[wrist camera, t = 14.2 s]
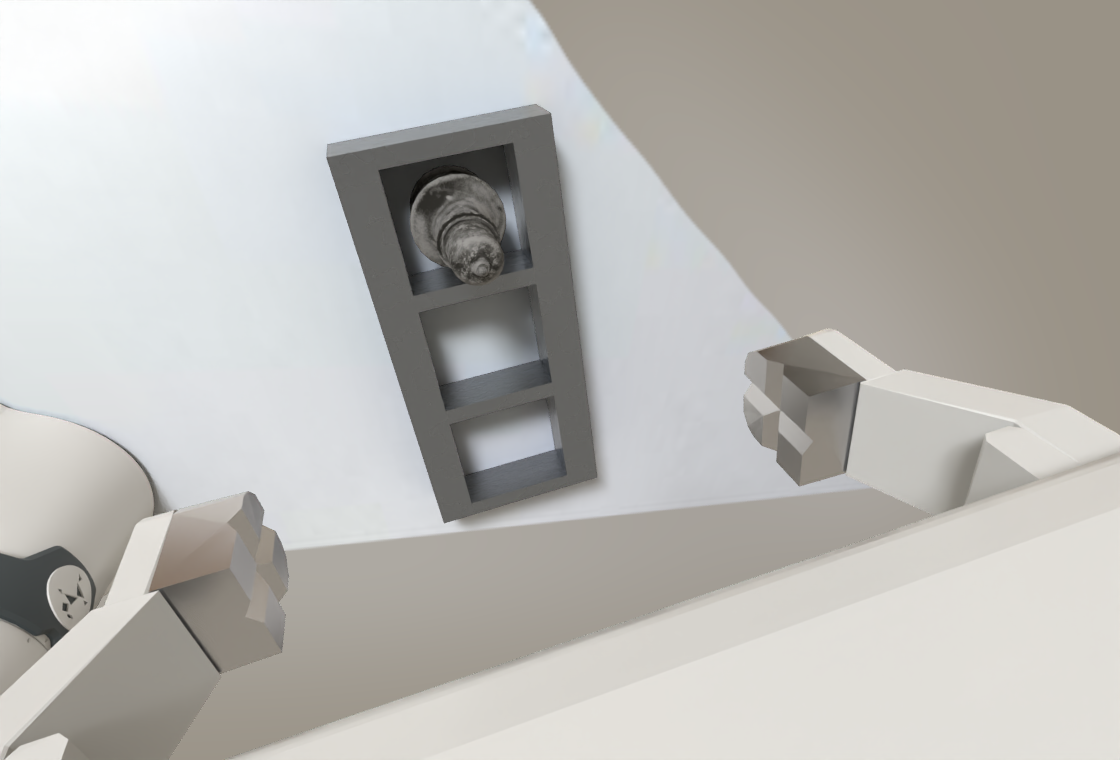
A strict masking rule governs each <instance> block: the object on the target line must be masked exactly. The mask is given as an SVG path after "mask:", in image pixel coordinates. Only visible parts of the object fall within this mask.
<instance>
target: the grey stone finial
mask: <svg viewBox="0 0 1120 760" xmlns="http://www.w3.org/2000/svg"><path fill="white" fill-rule="evenodd" d="M410 212H411V214H410V228H411V233H412V236H413V238H414V241H415V243H416V245H417V246H418V248H419V249H420V251H421V252H422V253H423V254H424V255H425V256H426V257H428V258H429V259H430V260H431V261H433V262H435V263H437V264H439V265H441V266H445V267H450V268H451V269H452V270H453V272H454V273H455V275H456V276H457V277H458V278H459V279H460V280H461V281H463V282H465V283H467V284H469V285H474V286H482V285H486V284H489V283H491V282H492V281H494V280H495V279H496V278H497V277H498V276H499V275H500V273H501V271H502V269H503V266H504V254H503V250H502V248H501V247H500V246H501V240H502V238H503V235H504V231H505V228H506V215H505V211H504V207H503V203H502V201H501V200H500V198H499V196H498V194H497V193H496V192H495V191H494V190H493V189H492V188H491V186H490V185H489V184H488V183H486V182H484V181H482V180H481V179H479V178H478V177H477V176H476V175H475V174H474V173H472V172H471V171H469V170H467V169H466V168H462V167H458V166H441V167H438V168H434V169H432V170H431V171H429V172H427V173H426V174H424V175H423V176H422V177H421V179H420V180H419V181H418V182H417V183H416V185H415V187H414V189H413V191H412V195H411V199H410Z"/></svg>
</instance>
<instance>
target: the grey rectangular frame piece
mask: <svg viewBox="0 0 1120 760" xmlns="http://www.w3.org/2000/svg"><path fill="white" fill-rule="evenodd" d="M499 145H504V151H505V157H506V163H507V169H508V175H509V181H510V187H511V192H512V198H513V204H514V210H515V216H516V222H517V228H518V234H519V239H520V245H521V250H517V251H513V252H509V253H504V266H503V269H502V271H501V273H500V275H499V276H498V277H497V278H496V279H495V280H494V281H492V282H491V283H489V284H486V285H482V286H474V285H469V284H467V283H465V282H463V281H461V280H460V279H459V278H458V277H457V276H456V275H455V273H454V272H453V270H452V269H451V268H450V267H444V268H440V269H436V270H431V271H427V272H423V273H418V274H414V275H410V276H408V272H407V269H406V265H405V262H404V258H403V254H402V251H401V247H400V244H399V240H398V237H397V233H396V230H395V226H394V222H393V219H392V215H391V212H390V208H389V205H388V201H387V197H386V194H385V190H384V187H383V183H382V180H381V176H380V172H379V170H381V169H386V168H391V167H395V166H400V165H405V164H410V163H415V162H420V161H425V160H430V159H435V158H440V157H445V156H450V155H455V154H460V153H464V152H469V151H474V150H479V149H484V148H489V147H494V146H499ZM326 158H327V161H328V164H329V167H330V170H331V173H332V176H333V179H334V182H335V186H336V189H337V192H338V195H339V198H340V201H341V204H342V207H343V210H344V214H345V217H346V220H347V223H348V226H349V229H350V232H351V235H352V238H353V241H354V245H355V248H356V251H357V254H358V257H359V260H360V263H361V266H362V269H363V273H364V276H365V279H366V282H367V285H368V288H369V291H370V294H371V297H372V301H373V304H374V307H375V310H376V313H377V316H378V319H379V322H380V325H381V329H382V332H383V335H384V338H385V341H386V344H387V347H388V350H389V353H390V357H391V360H392V363H393V366H394V369H395V372H396V375H397V378H398V381H399V385H400V388H401V391H402V394H403V397H404V400H405V403H406V406H407V409H408V413H409V416H410V419H411V422H412V425H413V428H414V431H415V434H416V437H417V441H418V444H419V447H420V450H421V453H422V456H423V459H424V462H425V465H426V469H427V472H428V475H429V478H430V481H431V484H432V487H433V490H434V493H435V497H436V500H437V503H438V506H439V509H440V512H441V515H442V518H443V521H444V523H447V522H450V521H453V520H457V519H460V518H463V517H467V516H470V515H473V514H477V513H480V512H483V511H487V510H490V509H493V508H497V507H500V506H503V505H507V504H510V503H513V502H517V501H520V500H523V499H527V498H530V497H533V496H537V495H540V494H543V493H547V492H550V491H553V490H557V489H560V488H563V487H567V486H570V485H573V484H577V483H580V482H583V481H587V480H590V479H593V478H597V472H596V464H595V456H594V448H593V440H592V432H591V424H590V416H589V409H588V401H587V393H586V385H585V377H584V369H583V361H582V353H581V345H580V338H579V330H578V322H577V314H576V306H575V298H574V290H573V282H572V275H571V267H570V259H569V251H568V243H567V235H566V227H565V219H564V212H563V204H562V196H561V188H560V180H559V172H558V164H557V156H556V148H555V141H554V133H553V125H552V117H551V113H550V112H548V111H547V110H545V109H543V108H542V107H540V106H538V105H537V104H534V105H529V106H524V107H519V108H513V109H508V110H503V111H498V112H493V113H488V114H482V115H477V116H472V117H467V118H462V119H457V120H451V121H446V122H441V123H436V124H431V125H426V126H420V127H415V128H410V129H405V130H400V131H395V132H389V133H384V134H379V135H374V136H369V137H364V138H358V139H353V140H348V141H343V142H338V143H333V144H327V157H326ZM526 286H527V287H528V292H529V298H530V304H531V310H532V316H533V322H534V328H535V334H536V339H537V345H538V351H539V357H540V360H537V361H533V362H529V363H526V364H522V365H518V366H514V367H511V368H507V369H503V370H499V371H495V372H492V373H488V374H484V375H480V376H476V377H473V378H469V379H465V380H461V381H457V382H454V383H450V384H446V385H442V386H439V383H438V379H437V376H436V372H435V369H434V365H433V362H432V358H431V354H430V351H429V347H428V344H427V340H426V337H425V333H424V329H423V326H422V322H421V319H420V315H419V312H423V311H427V310H431V309H435V308H440V307H444V306H448V305H452V304H456V303H460V302H464V301H468V300H472V299H477V298H481V297H485V296H489V295H493V294H497V293H501V292H505V291H510V290H514V289H518V288H522V287H526ZM544 398H547V404H548V410H549V416H550V422H551V428H552V433H553V439H554V445H555V450H552V451H549V452H546V453H542V454H539V455H535V456H532V457H528V458H525V459H521V460H518V461H514V462H511V463H508V464H504V465H501V466H497V467H494V468H490V469H487V470H483V471H480V472H476V473H473V474H470V475H466V476H464V472H463V469H462V465H461V461H460V458H459V454H458V451H457V447H456V444H455V440H454V436H453V433H452V429H451V426H450V424H453V423H456V422H460V421H463V420H467V419H471V418H474V417H478V416H482V415H485V414H489V413H493V412H496V411H500V410H504V409H507V408H511V407H514V406H518V405H522V404H525V403H529V402H533V401H536V400H540V399H544Z"/></svg>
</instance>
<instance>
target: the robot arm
mask: <svg viewBox="0 0 1120 760" xmlns="http://www.w3.org/2000/svg"><path fill="white" fill-rule="evenodd" d="M744 374H745V375H746V376H747V377H748V378H749V379H750V381H751V382H752V383H751V385H750V386H749V388H748V389H747V391H746V392H745V394H744V414H745V418H746V421H747V425H748V427H749V429H750V431H751V433H752V434H753V436H754V437H755V439H756V440H757V441H758V442H759V443H760V444H761V445H762V446H764V447H767V448H770V449H773V450H776V451H777V460H776V462H777V463H778V464H779V465H780V466H781V467H782V468H783V469H784V470H785V472H786V473H787V474H788V475H789V476H790V477H791V478H792V479H793V480H794V481H795V482H796V483H797V484H798V486H802V485H806V484H809V483H813V482H816V481H820V480H823V479H827V478H830V477H833V476H837V475H840V474H844V473H846V476H848V477H851V478H853V479H855V480H857V481H859V482H861V483H864V484H866V485H868V486H870V487H872V488H875V489H877V490H879V491H881V492H883V493H886V494H888V495H890V496H892V497H894V498H896V499H899V500H901V501H903V502H905V503H907V504H910V505H912V506H914V507H916V508H918V509H921V510H923V511H925V512H927V513H929V514H932V515H934V516H932V517H929V518H926V519H923V520H921V521H917V522H915V523H912V524H909V525H906V526H903V527H900V528H898V529H894V530H892V531H889V532H886V533H883V534H880V535H877V536H874V537H871V538H868V539H865V540H862V541H859V542H857V543H854V544H851V545H848V546H845V547H842V548H839V549H836V550H833V551H830V552H827V553H824V554H821V555H818V556H816V557H813V558H810V559H807V560H804V561H801V562H798V563H795V564H792V565H789V566H786V567H783V568H780V569H778V570H775V571H772V572H769V573H766V574H763V575H760V576H757V577H754V578H751V579H748V580H745V581H742V582H739V583H737V584H733V585H731V586H728V587H725V588H722V589H719V590H716V591H713V592H710V593H708V594H704V595H701V596H699V597H695V598H693V599H690V600H687V601H684V602H681V603H678V604H675V605H672V606H669V607H666V608H663V609H660V610H658V611H655V612H652V613H649V614H646V615H643V616H640V617H637V618H634V619H631V620H629V621H626V622H623V623H620V624H617V625H614V626H611V627H608V628H605V629H603V630H599V631H596V632H594V633H591V634H588V635H585V636H582V637H579V638H576V639H573V640H570V641H568V642H564V643H562V644H559V645H556V646H553V647H550V648H547V649H544V650H541V651H538V652H536V653H532V654H530V655H527V656H524V657H521V658H518V659H515V660H512V661H509V662H506V663H503V664H501V665H498V666H495V667H492V668H489V669H486V670H483V671H480V672H477V673H474V674H472V675H469V676H465V677H463V678H460V679H457V680H454V681H451V682H448V683H445V684H442V685H439V686H436V687H433V688H431V689H428V690H425V691H422V692H419V693H416V694H413V695H410V696H407V697H405V698H401V699H398V700H396V701H393V702H390V703H387V704H384V705H381V706H378V707H375V708H372V709H369V710H367V711H364V712H361V713H358V714H355V715H352V716H349V717H346V718H343V719H340V720H338V721H334V722H331V723H329V724H326V725H323V726H320V727H317V728H314V729H311V730H308V731H305V732H302V733H300V734H296V735H294V736H291V737H288V738H285V739H282V740H279V741H276V742H273V743H270V744H267V745H264V746H262V747H259V748H256V749H253V750H250V751H247V752H244V753H241V754H238V755H235V756H232V757H229V758H227V759H224V760H1120V435H1118V434H1116V433H1115V432H1113V431H1111V430H1110V429H1108V428H1106V427H1105V426H1103V425H1101V424H1099V423H1098V422H1096V421H1094V420H1093V419H1091V418H1089V417H1087V416H1086V415H1084V414H1082V413H1080V412H1079V411H1077V410H1075V409H1073V408H1072V407H1070V406H1068V405H1064V404H1060V403H1055V402H1050V401H1046V400H1042V399H1037V398H1032V397H1028V396H1023V395H1019V394H1014V393H1010V392H1005V391H1000V390H996V389H991V388H987V387H982V386H978V385H973V384H969V383H964V382H960V381H955V380H950V379H946V378H942V377H937V376H933V375H928V374H924V373H919V372H914V371H910V370H901V371H898V372H897V371H895V370H894V369H892V368H891V367H889V366H888V365H886V364H885V363H883V362H882V361H880V360H879V359H878V358H876V357H875V356H873V355H872V354H870V353H869V352H867V351H866V350H865V349H863V348H862V347H860V346H859V345H857V344H856V343H854V342H853V341H851V340H850V339H848V338H847V337H846V336H844V335H843V334H841V333H840V332H838V331H837V330H833V329H825V330H821V331H818V332H815V333H812V334H808V335H805V336H802V337H801V338H798V339H795V340H791V341H788V342H784V343H781V344H777V345H774V346H770V347H767V348H763V349H760V350H756V351H753V352H749V353H748V355H747V358H746V360H745V371H744ZM153 512H154V498H153V492H152V488H151V486H150V483H149V481H148V479H147V477H146V475H145V473H144V472H143V470H142V469H141V467H140V466H139V465H138V464H137V462H136V461H135V460H134V459H133V458H132V457H131V456H130V455H129V454H128V453H127V452H126V451H124V450H123V449H122V448H121V447H119V446H118V445H117V444H115V443H114V442H112V441H111V440H109V439H107V438H106V437H104V436H102V435H100V434H98V433H96V432H94V431H92V430H90V429H88V428H85V427H83V426H80V425H78V424H75V423H72V422H69V421H65V420H62V419H58V418H54V417H49V416H44V415H38V414H33V413H27V412H22V411H18V410H14V409H11V408H7V407H5V406H3V405H1V404H0V760H169V758H170V756H171V755H172V753H173V752H174V750H175V749H176V747H177V745H178V744H179V742H180V741H181V739H182V738H183V736H184V735H185V733H186V731H187V730H188V728H189V727H190V725H191V724H192V722H193V720H194V719H195V717H196V716H197V714H198V713H199V711H200V710H201V708H202V707H203V705H204V703H205V702H206V700H207V699H208V697H209V696H210V694H211V692H212V691H213V689H214V688H215V686H216V685H217V683H218V682H219V680H220V679H221V675H220V674H222V673H224V672H227V671H230V670H233V669H236V668H239V667H241V666H244V665H247V664H250V663H253V662H256V661H259V660H262V659H265V658H267V657H270V656H273V655H276V654H279V653H282V647H283V636H284V626H285V616H286V615H285V613H284V611H283V609H282V607H281V606H280V604H279V601H280V600H281V599H282V597H283V596H284V595H285V593H286V592H287V591H288V578H289V574H288V567H287V559H286V555H285V552H284V549H283V546H282V543H281V541H280V539H279V537H278V535H277V533H276V531H274V530H272V529H270V528H267V527H265V526H263V525H262V523H263V515H264V509H263V507H262V506H261V504H260V502H259V501H258V499H257V497H256V495H255V494H253V493H251V492H249V491H247V492H243V493H239V494H235V495H231V496H227V497H224V498H220V499H216V500H212V501H208V502H204V503H200V504H196V505H192V506H188V507H185V508H181V509H179V510H173V511H170V512H166V513H162V514H159V515H155V516H153ZM107 593H109V594H108V597H107V599H106V602H105V605H104V607H100V608H97V609H96V607H97V606H98V604H99V602H100V600H101V598H102V597H103V596H104V595H106V594H107Z"/></svg>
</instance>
